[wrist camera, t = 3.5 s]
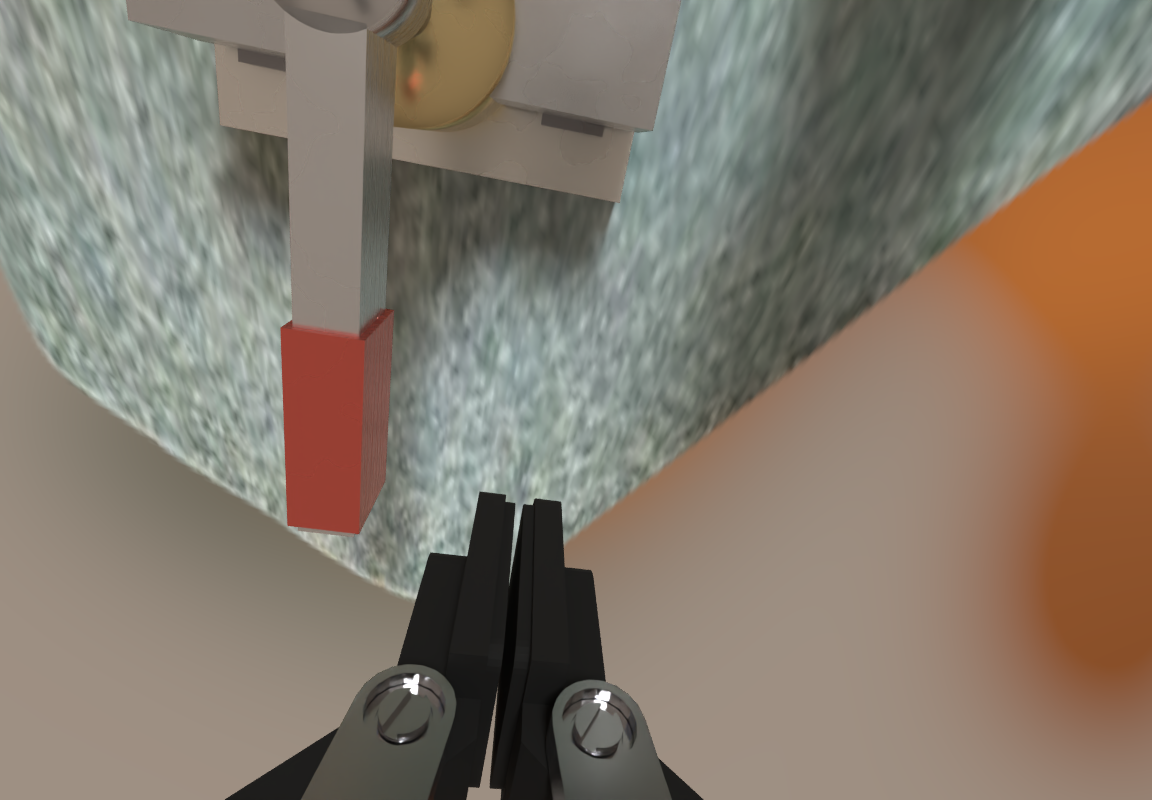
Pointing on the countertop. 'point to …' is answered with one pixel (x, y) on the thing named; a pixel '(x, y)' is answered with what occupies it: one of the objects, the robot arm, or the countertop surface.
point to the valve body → (472, 82)
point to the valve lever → (339, 254)
